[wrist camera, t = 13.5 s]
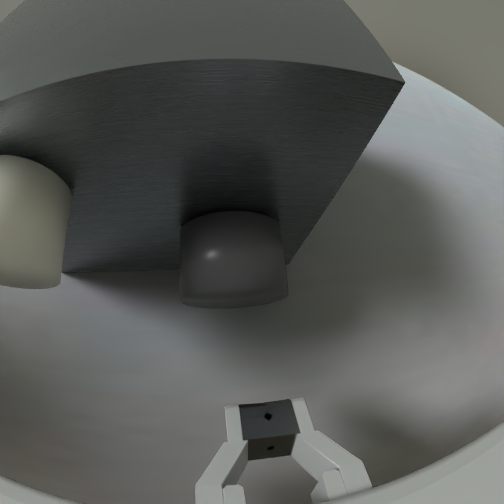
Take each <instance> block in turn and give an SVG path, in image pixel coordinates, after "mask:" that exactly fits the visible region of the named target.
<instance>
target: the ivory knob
mask: <svg viewBox="0 0 504 504" xmlns="http://www.w3.org/2000/svg"><path fill="white" fill-rule="evenodd" d="M71 204H72V194H71V191H70V189H69V187H68V186H67V184H66V183H65V182H64V181H63V180H62V179H61V178H60V177H59V176H58V175H57V174H56V173H54V172H53V171H52V170H50V169H48V168H47V167H45V166H43V165H41V164H39V163H37V162H35V161H34V160H33V158H32V157H31V156H29V157H25V158H22V157H18V156H12V155H0V285H3V286H9V287H15V288H24V289H46V288H52V287H55V286H57V285H59V284H60V282H61V272H62V262H63V254H64V246H65V239H66V232H67V226H68V220H69V215H70V209H71Z"/></svg>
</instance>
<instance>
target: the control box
mask: <svg viewBox="0 0 504 504" xmlns="http://www.w3.org/2000/svg"><path fill="white" fill-rule="evenodd" d="M404 84H405V81H404V79H403V78H402V76H401V75H400V73H399V72H398V70H397V69H396V67H395V66H394V64H393V63H392V61H391V60H390V58H389V57H388V56H387V54H386V53H385V51H384V50H383V48H382V47H381V46H380V44H379V43H378V42H377V40H376V39H375V38H374V36H373V35H372V34H371V33H370V31H369V30H368V29H367V27H366V26H365V25H364V24H363V22H362V21H361V20H360V19H359V18H358V16H357V15H356V14H355V13H354V12H353V11H352V9H351V8H350V7H349V6H348V5H347V4H346V3H345V1H344V0H25V1H24V2H23V3H22V4H21V5H19V6H18V7H17V8H16V9H15V10H14V11H13V12H12V13H10V14H9V15H8V16H7V17H6V18H5V19H4V20H3V21H2V22H1V23H0V155H12V156H18V157H22V158H25V157H29V156H31V157H32V158H33V160H34V161H35V162H37V163H39V164H41V165H43V166H45V167H47V168H48V169H50V170H52V171H53V172H54V173H56V174H57V175H58V176H59V177H60V178H61V179H62V180H63V181H64V182H65V183H66V184H67V186H68V187H69V189H70V191H71V194H72V204H71V209H70V215H69V220H68V226H67V232H66V239H65V246H64V254H63V262H62V272H61V273H72V272H109V271H140V270H169V269H180V231H181V229H182V227H183V226H184V225H185V224H186V223H188V222H189V221H191V220H193V219H195V218H198V217H200V216H203V215H207V214H211V213H217V212H224V211H248V212H255V213H259V214H263V215H266V216H269V217H271V218H273V219H274V220H276V221H277V222H278V223H279V225H280V227H281V235H282V243H283V251H284V260H285V264H289V262H290V261H291V259H292V258H293V256H294V255H295V254H296V252H297V251H298V249H299V248H300V246H301V245H302V243H303V242H304V240H305V239H306V237H307V236H308V235H309V233H310V232H311V230H312V229H313V227H314V226H315V224H316V223H317V221H318V220H319V218H320V217H321V215H322V214H323V212H324V211H325V209H326V208H327V206H328V205H329V203H330V202H331V200H332V199H333V197H334V196H335V194H336V193H337V191H338V190H339V188H340V186H341V185H342V183H343V182H344V180H345V179H346V177H347V176H348V174H349V173H350V171H351V170H352V168H353V166H354V165H355V163H356V162H357V160H358V159H359V157H360V155H361V154H362V152H363V151H364V149H365V148H366V146H367V144H368V143H369V141H370V140H371V138H372V136H373V135H374V133H375V132H376V130H377V128H378V127H379V125H380V124H381V122H382V120H383V119H384V117H385V115H386V114H387V112H388V111H389V109H390V107H391V106H392V104H393V102H394V101H395V99H396V97H397V96H398V94H399V92H400V91H401V89H402V87H403V86H404Z"/></svg>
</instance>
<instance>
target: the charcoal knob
mask: <svg viewBox="0 0 504 504" xmlns="http://www.w3.org/2000/svg"><path fill="white" fill-rule="evenodd" d="M287 296H288V286H287V277H286V268H285V260H284V251H283V243H282V235H281V227H280V225H279V223H278V222H277V221H276V220H274V219H273V218H271V217H269V216H266V215H263V214H259V213H255V212H248V211H224V212H217V213H211V214H207V215H203V216H200V217H198V218H195V219H193V220H191V221H189V222H188V223H186V224H185V225H184V226H183V227H182V229H181V231H180V301H181V302H182V303H183V304H186V305H189V306H194V307H202V308H238V307H249V306H256V305H262V304H267V303H272V302H275V301H278V300H281V299H283V298H285V297H287Z"/></svg>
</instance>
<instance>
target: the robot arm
mask: <svg viewBox="0 0 504 504" xmlns="http://www.w3.org/2000/svg"><path fill="white" fill-rule="evenodd" d="M225 416H226V427H227V437H228V442H224V443H223V444H222V446H221V447H220V449H219V451H218V452H217V454H216V455H215V457H214V458H213V460H212V461H211V463H210V464H209V466H208V467H207V469H206V470H205V472H204V473H203V474H202V476H201V477H200V479H199V480H198V482H197V483H196V485H195V499H196V504H246V502H245V496H244V490H243V487H242V486H240V485H236V483H237V482H238V480H239V478H240V476H241V474H242V472H243V470H244V468H245V466H246V465H247V463H248V461H249V460H257V459H265V458H273V457H281V456H289V455H291V457H292V458H293V459H294V460H295V461H296V462H297V463H298V464H300V465H301V466H302V467H303V468H304V469H305V470H306V471H307V472H308V473H309V474H310V475H311V476H312V477H314V478H315V479H316V480H317V481H318V483H317V485H316V486H315V488H314V489H313V491H312V493H311V494H310V496H311V500H312V504H504V421H502V422H501V423H500V424H498V425H497V426H495V427H494V428H492V429H491V430H489V431H488V432H486V433H485V434H483V435H482V436H480V437H478V438H477V439H475V440H474V441H472V442H470V443H469V444H467V445H465V446H464V447H462V448H460V449H458V450H457V451H455V452H453V453H451V454H449V455H447V456H445V457H444V458H442V459H440V460H438V461H436V462H434V463H432V464H430V465H428V466H425V467H423V468H421V469H419V470H417V471H415V472H412V473H410V474H408V475H405V476H403V477H400V478H398V479H395V480H393V481H390V482H388V483H385V484H382V485H380V486H377V487H374V488H373V487H372V484H371V482H370V479H369V477H368V474H367V472H366V469H365V467H364V464H363V462H362V461H361V460H360V459H358V458H357V457H355V456H354V455H353V454H351V453H350V452H348V451H347V450H345V449H344V448H343V447H341V446H340V445H338V444H337V443H336V442H334V441H333V440H331V439H330V438H329V437H327V436H326V435H325V434H323V433H322V432H321V431H319V430H316V431H315V429H314V426H313V423H312V420H311V417H310V414H309V411H308V408H307V405H306V402H305V399H304V398H303V397H301V398H295V399H286V400H279V401H271V402H264V403H255V404H241V405H225ZM0 504H84V503H80V502H76V501H73V500H69V499H65V498H62V497H58V496H55V495H52V494H49V493H46V492H43V491H40V490H37V489H34V488H31V487H28V486H26V485H23V484H21V483H18V482H16V481H13V480H11V479H9V478H6V477H4V476H1V475H0Z"/></svg>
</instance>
